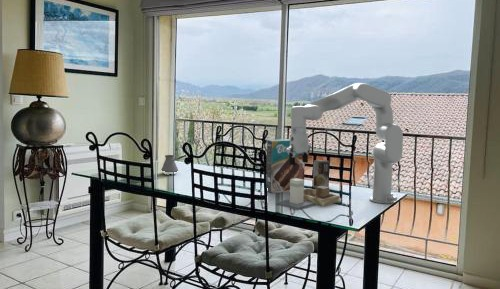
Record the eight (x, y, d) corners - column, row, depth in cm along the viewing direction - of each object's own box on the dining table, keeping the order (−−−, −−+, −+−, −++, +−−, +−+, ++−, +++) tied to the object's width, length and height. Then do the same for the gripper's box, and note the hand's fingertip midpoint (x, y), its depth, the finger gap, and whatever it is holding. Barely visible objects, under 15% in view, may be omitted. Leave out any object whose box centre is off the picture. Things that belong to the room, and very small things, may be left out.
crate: (339, 201, 235) (339, 195, 234) (322, 206, 225) (323, 199, 225) (307, 194, 251) (308, 188, 250) (291, 197, 242) (291, 191, 241)
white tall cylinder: (303, 202, 228) (304, 179, 226) (296, 204, 225) (297, 181, 223) (296, 200, 232) (296, 178, 230) (289, 202, 228) (290, 179, 227)
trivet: (315, 205, 228) (315, 202, 228) (297, 209, 218) (297, 207, 218) (295, 199, 238) (295, 197, 238) (277, 204, 229) (277, 201, 229)
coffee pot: (157, 174, 298) (157, 152, 296) (168, 171, 308) (168, 150, 306) (182, 178, 288) (182, 155, 286) (193, 175, 298) (193, 153, 296)
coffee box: (327, 186, 272) (328, 160, 270) (328, 188, 266) (329, 162, 264) (312, 185, 273) (313, 159, 271) (313, 187, 267) (314, 161, 265)
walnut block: (328, 202, 234) (329, 187, 233) (322, 203, 231) (323, 188, 230) (321, 200, 238) (322, 185, 237) (315, 201, 235) (316, 187, 234)
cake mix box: (270, 193, 251) (271, 141, 247) (266, 191, 257) (267, 140, 253) (303, 190, 260) (305, 139, 256) (298, 188, 266) (300, 138, 262)
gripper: (292, 132, 215) (292, 167, 217) (315, 129, 226) (315, 162, 229) (281, 131, 220) (281, 165, 223) (304, 128, 232) (304, 160, 234)
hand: (298, 163), depth 226 cm, fingers open, 9 cm apart
